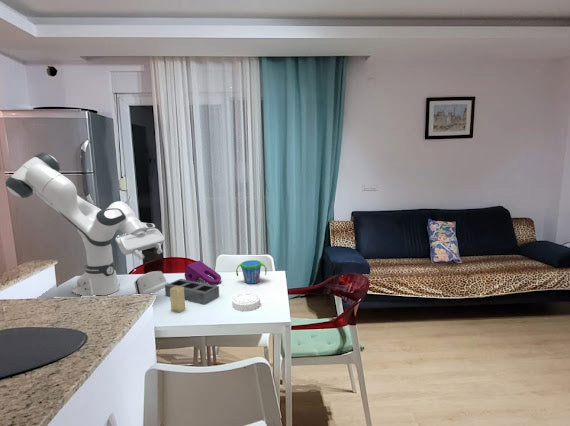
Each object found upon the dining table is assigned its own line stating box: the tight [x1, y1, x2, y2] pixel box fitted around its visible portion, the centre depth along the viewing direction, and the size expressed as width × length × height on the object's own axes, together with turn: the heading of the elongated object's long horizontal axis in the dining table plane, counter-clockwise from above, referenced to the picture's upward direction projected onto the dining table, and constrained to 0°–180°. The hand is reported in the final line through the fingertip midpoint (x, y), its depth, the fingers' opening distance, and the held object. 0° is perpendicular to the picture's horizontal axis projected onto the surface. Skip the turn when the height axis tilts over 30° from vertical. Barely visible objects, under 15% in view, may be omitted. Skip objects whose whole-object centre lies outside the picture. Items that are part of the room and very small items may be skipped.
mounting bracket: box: [184, 260, 222, 286], centre depth 181 cm, size 9×8×18 cm
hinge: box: [133, 270, 169, 295], centre depth 170 cm, size 17×5×10 cm, turn 155°
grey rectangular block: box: [164, 278, 220, 305], centre depth 162 cm, size 24×10×5 cm, turn 61°
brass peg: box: [169, 286, 186, 314], centre depth 146 cm, size 4×4×10 cm
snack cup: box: [235, 259, 267, 285], centre depth 179 cm, size 16×10×10 cm
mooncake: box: [231, 293, 261, 312], centre depth 150 cm, size 12×12×4 cm
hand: (151, 255), depth 149 cm, fingers open, 8 cm apart
